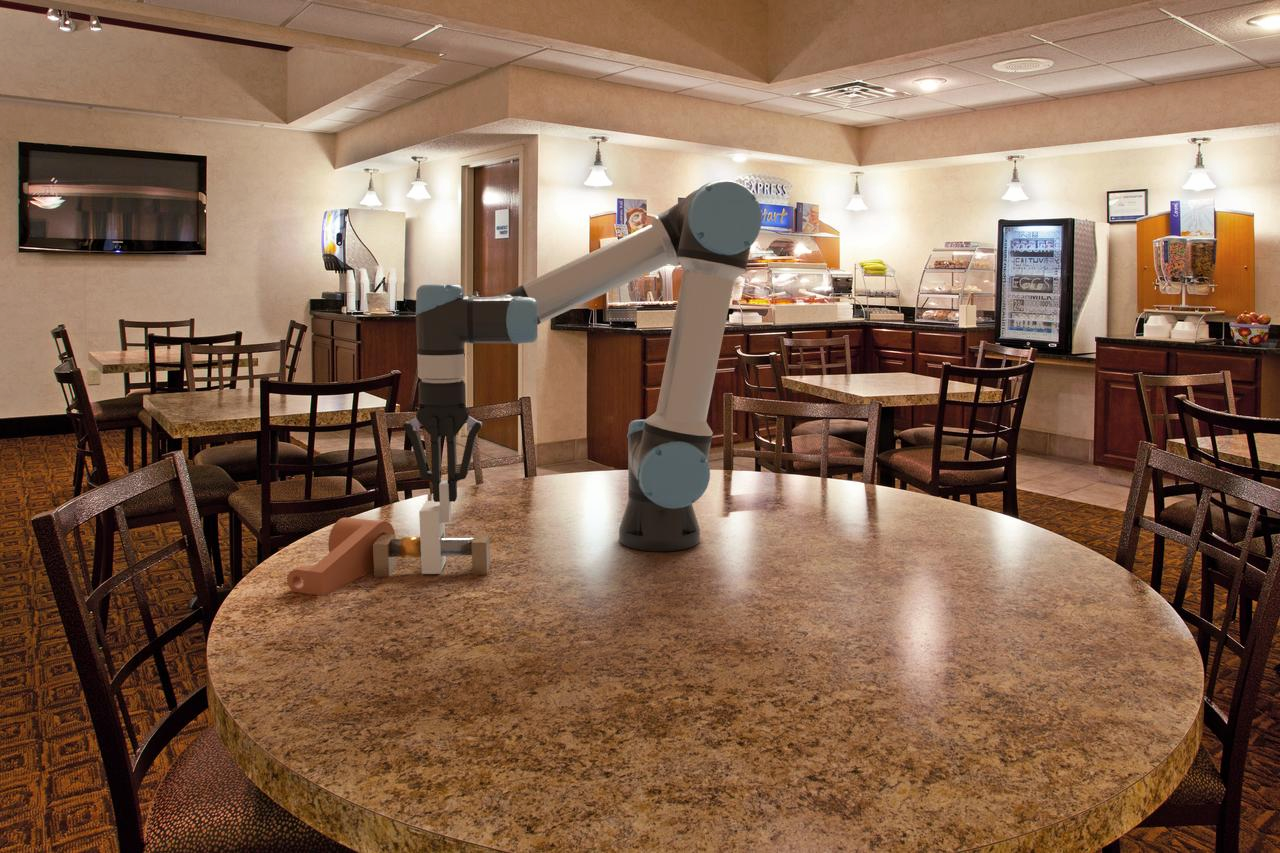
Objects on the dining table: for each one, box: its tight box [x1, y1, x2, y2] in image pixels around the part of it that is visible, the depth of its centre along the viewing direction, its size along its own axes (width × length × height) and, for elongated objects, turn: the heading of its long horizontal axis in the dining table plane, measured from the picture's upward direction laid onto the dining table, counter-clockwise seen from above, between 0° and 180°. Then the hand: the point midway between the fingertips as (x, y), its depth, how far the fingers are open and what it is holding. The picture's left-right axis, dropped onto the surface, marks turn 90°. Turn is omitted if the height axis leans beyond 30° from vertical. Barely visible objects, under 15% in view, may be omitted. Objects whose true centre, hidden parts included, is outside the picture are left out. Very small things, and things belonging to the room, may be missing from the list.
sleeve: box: [418, 500, 447, 575], centre depth 156 cm, size 3×7×11 cm, turn 4°
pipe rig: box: [373, 532, 491, 578], centre depth 156 cm, size 18×6×6 cm, turn 94°
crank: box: [286, 517, 396, 596], centre depth 155 cm, size 20×8×8 cm, turn 161°
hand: (445, 520), depth 156 cm, fingers closed
